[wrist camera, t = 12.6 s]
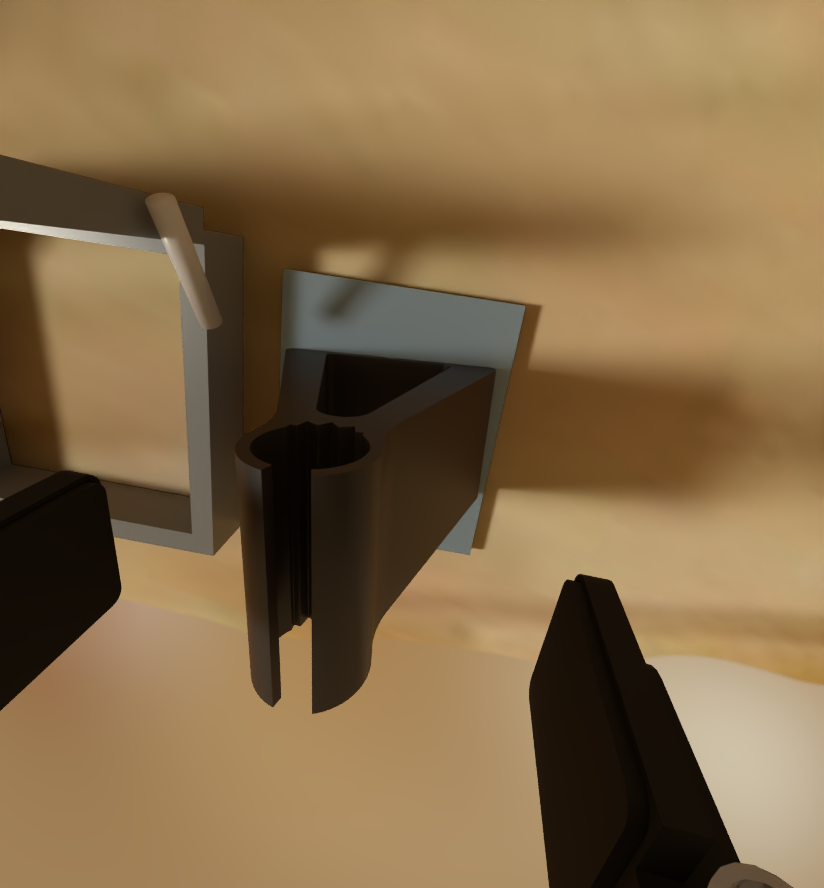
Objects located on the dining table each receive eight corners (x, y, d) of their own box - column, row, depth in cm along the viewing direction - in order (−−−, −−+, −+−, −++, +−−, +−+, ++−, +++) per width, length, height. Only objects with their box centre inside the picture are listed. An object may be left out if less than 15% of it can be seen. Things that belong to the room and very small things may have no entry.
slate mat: (523, 305, 18) (525, 305, 18) (469, 548, 23) (469, 555, 22) (288, 268, 19) (283, 268, 18) (279, 513, 23) (275, 519, 23)
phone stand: (496, 368, 19) (542, 503, 8) (477, 494, 21) (490, 744, 10) (289, 346, 19) (51, 441, 8) (291, 470, 22) (105, 679, 10)
